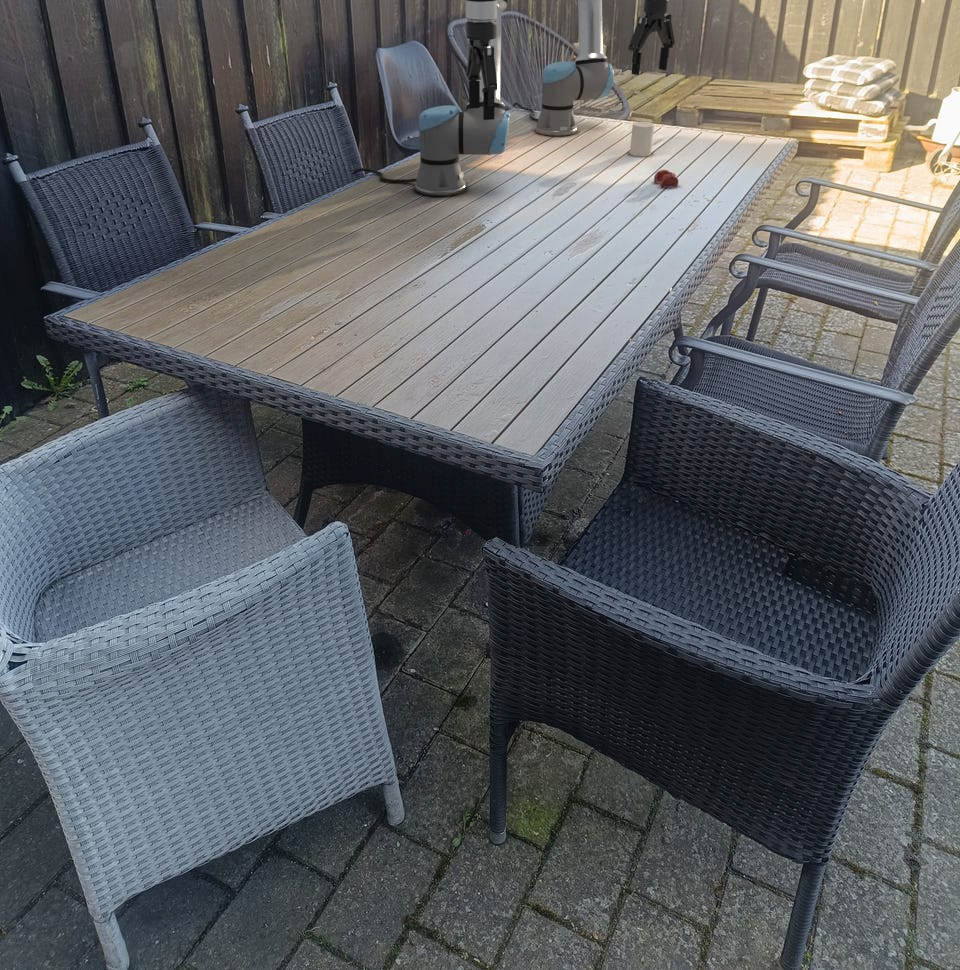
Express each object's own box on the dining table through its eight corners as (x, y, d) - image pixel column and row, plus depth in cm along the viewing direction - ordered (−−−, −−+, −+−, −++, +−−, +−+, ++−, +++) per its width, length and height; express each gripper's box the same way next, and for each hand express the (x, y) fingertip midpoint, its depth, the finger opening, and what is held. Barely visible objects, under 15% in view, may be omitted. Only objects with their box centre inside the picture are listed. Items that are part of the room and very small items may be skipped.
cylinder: (644, 157, 288) (647, 127, 283) (625, 154, 292) (628, 124, 286) (654, 153, 293) (657, 123, 287) (636, 150, 297) (639, 120, 291)
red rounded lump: (669, 166, 264) (680, 173, 258) (668, 179, 266) (679, 187, 260) (653, 168, 263) (663, 175, 257) (652, 181, 265) (662, 189, 259)
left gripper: (511, 26, 196) (509, 123, 208) (482, 13, 215) (482, 102, 228) (480, 27, 194) (480, 125, 207) (453, 14, 214) (455, 104, 226)
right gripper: (639, 2, 256) (632, 78, 268) (691, -4, 269) (682, 69, 282) (621, -1, 261) (614, 74, 273) (673, -6, 274) (664, 66, 286)
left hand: (481, 113), depth 217 cm, fingers open, 13 cm apart
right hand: (649, 72), depth 277 cm, fingers open, 13 cm apart
